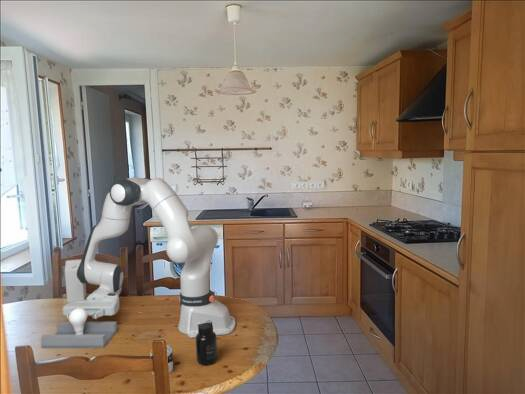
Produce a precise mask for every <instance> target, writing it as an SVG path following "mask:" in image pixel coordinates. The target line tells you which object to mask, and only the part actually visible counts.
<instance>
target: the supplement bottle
mask: <svg viewBox="0 0 525 394" xmlns="http://www.w3.org/2000/svg"><path fill="white" fill-rule="evenodd" d="M217 343H218V341H217V335H216V333H215V332H213V325H212V324H211V323H203V324H200V325H199V326H198V334H197V335H196V337H195V353H196V362H197V364H198V365H200V364H201V366H210V365H209V364H211V365H213V364H215V363H216V362H217V360H218V344H217ZM214 362H215V363H214ZM212 363H213V364H212Z"/></svg>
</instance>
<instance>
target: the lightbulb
mask: <svg viewBox="0 0 525 394" xmlns="http://www.w3.org/2000/svg"><path fill="white" fill-rule="evenodd" d="M87 319H88V316H87V312H86V311H85V310H84V309H82V308H76V309H74V310H73V311H72V312H71V313H70V314H69V319H68V322H70V323H71V324H72V325H73V327H74V331H75V335H83V330H84V324H85V322H87Z"/></svg>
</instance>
